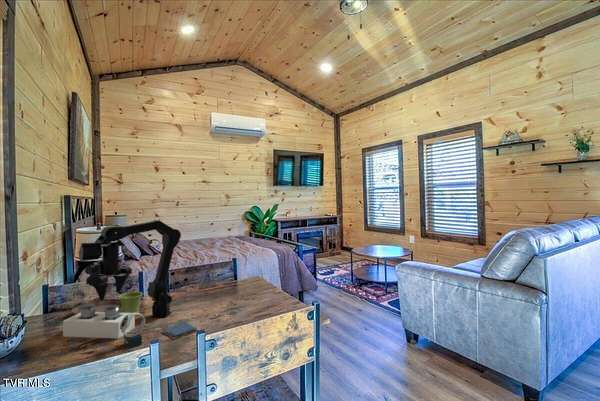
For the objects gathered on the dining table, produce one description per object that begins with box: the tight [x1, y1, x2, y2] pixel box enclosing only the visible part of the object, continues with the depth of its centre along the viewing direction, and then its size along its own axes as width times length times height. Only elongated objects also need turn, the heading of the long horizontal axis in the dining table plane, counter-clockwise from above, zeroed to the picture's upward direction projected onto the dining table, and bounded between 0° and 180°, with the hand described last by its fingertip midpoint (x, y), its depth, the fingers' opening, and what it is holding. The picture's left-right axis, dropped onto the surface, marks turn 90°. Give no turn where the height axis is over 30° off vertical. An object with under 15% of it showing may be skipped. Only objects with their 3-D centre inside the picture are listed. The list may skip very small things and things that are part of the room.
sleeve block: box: [62, 312, 136, 340], centre depth 121 cm, size 22×10×6 cm, turn 87°
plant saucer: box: [71, 298, 122, 316], centre depth 143 cm, size 21×21×3 cm
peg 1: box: [81, 304, 95, 319], centre depth 122 cm, size 5×5×6 cm
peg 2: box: [105, 305, 120, 320], centre depth 121 cm, size 5×5×6 cm
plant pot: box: [118, 291, 143, 313], centre depth 141 cm, size 9×9×9 cm
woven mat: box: [161, 321, 199, 340], centre depth 122 cm, size 10×11×2 cm
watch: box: [120, 312, 146, 350], centre depth 111 cm, size 6×8×11 cm
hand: (110, 296), depth 124 cm, fingers open, 9 cm apart
